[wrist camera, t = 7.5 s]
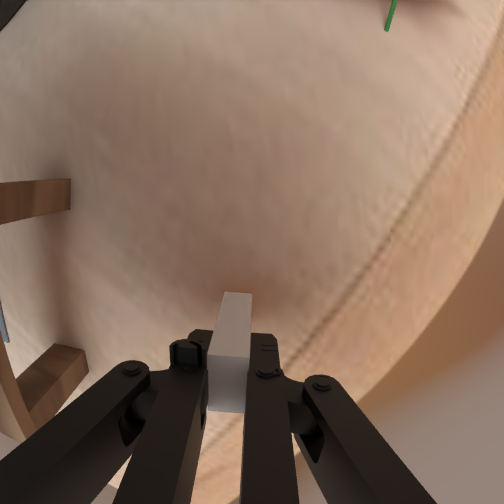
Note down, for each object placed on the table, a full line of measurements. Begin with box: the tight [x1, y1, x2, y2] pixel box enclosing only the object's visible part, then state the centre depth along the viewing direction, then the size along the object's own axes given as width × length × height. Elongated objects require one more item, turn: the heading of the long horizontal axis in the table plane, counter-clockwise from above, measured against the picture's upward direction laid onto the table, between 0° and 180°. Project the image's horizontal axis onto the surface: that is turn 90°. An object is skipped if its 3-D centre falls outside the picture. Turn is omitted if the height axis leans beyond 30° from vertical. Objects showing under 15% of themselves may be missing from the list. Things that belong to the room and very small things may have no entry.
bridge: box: [0, 179, 89, 443], centre depth 14 cm, size 3×14×9 cm, turn 176°
